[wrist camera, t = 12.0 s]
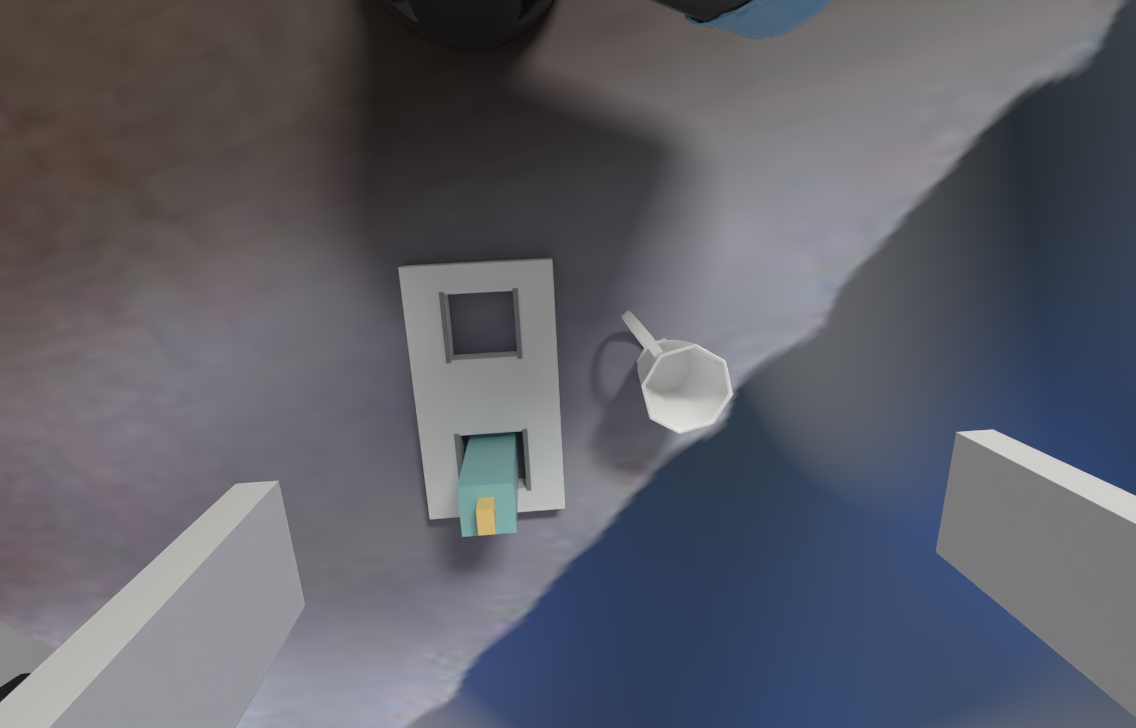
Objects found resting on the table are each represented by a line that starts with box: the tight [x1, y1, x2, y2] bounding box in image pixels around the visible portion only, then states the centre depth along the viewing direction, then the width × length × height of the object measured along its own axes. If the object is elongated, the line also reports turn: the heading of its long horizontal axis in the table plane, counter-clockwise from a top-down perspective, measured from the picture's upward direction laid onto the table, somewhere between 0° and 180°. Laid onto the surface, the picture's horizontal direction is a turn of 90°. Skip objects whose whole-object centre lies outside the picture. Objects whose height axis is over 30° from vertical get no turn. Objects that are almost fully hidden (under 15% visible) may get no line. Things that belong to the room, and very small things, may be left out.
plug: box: [457, 432, 519, 537], centre depth 43 cm, size 4×4×12 cm
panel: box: [398, 258, 565, 519], centre depth 46 cm, size 22×12×2 cm, turn 3°
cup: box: [621, 310, 733, 434], centre depth 43 cm, size 7×10×8 cm
